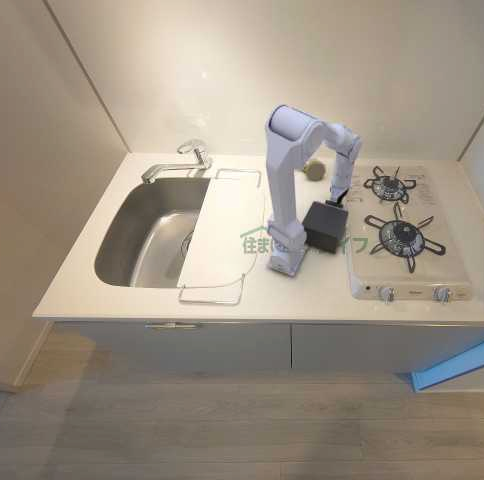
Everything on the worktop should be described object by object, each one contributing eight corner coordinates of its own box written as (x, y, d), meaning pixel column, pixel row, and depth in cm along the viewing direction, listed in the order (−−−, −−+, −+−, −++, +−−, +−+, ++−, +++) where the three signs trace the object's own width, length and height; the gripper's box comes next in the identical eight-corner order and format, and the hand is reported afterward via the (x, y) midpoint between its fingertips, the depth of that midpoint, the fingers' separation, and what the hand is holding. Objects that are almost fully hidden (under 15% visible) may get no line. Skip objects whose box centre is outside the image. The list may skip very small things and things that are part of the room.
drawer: (319, 206, 92) (320, 192, 86) (348, 215, 89) (351, 201, 84) (305, 235, 85) (305, 222, 79) (335, 246, 82) (338, 233, 77)
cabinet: (312, 218, 90) (313, 201, 83) (345, 228, 87) (348, 211, 80) (300, 242, 84) (300, 225, 77) (335, 253, 82) (338, 237, 75)
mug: (320, 163, 107) (328, 151, 97) (318, 185, 105) (326, 176, 96) (302, 159, 105) (309, 147, 96) (300, 182, 104) (306, 173, 94)
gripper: (348, 190, 73) (342, 221, 85) (362, 159, 81) (355, 191, 92) (324, 183, 75) (322, 214, 86) (340, 153, 83) (336, 185, 94)
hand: (337, 202), depth 89 cm, fingers closed
